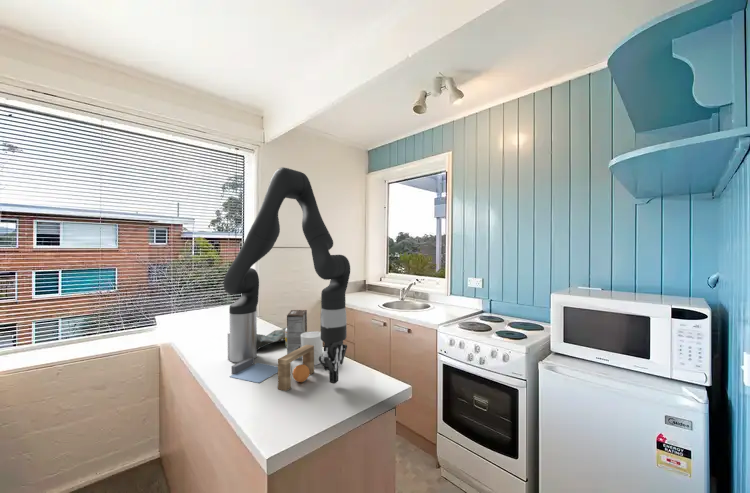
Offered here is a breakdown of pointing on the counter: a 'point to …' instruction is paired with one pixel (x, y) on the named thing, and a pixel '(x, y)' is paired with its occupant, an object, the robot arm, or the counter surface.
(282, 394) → the counter surface
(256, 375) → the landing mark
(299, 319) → the coffee box
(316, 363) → the white cup
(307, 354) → the bridge
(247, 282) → the robot arm
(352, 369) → the counter surface
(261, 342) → the grey green crumpled pouch
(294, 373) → the ball
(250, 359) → the strip
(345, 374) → the counter surface
